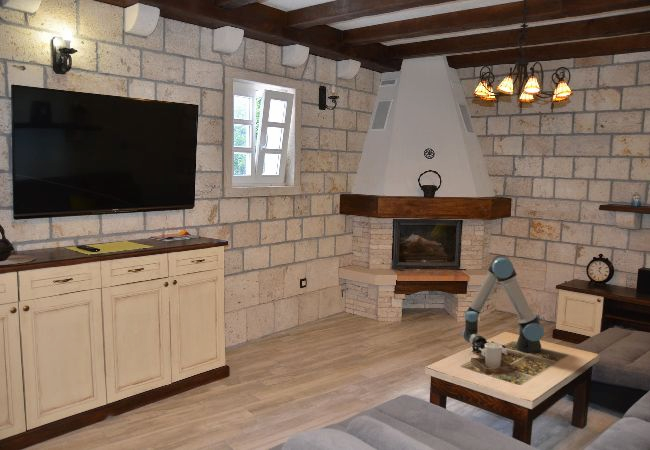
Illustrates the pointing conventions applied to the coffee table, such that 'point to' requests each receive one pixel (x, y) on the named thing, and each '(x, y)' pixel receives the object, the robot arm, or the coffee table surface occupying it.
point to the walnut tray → (503, 367)
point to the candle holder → (493, 355)
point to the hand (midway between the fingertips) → (495, 353)
